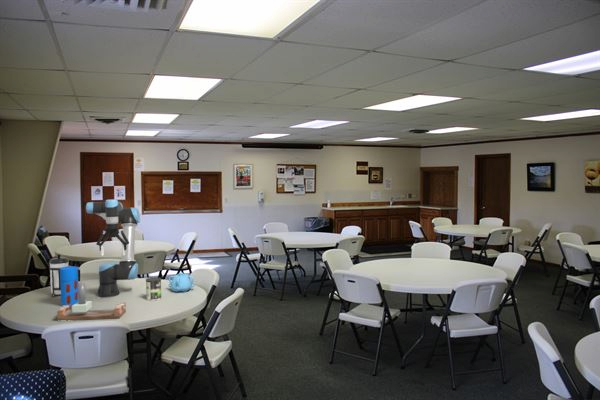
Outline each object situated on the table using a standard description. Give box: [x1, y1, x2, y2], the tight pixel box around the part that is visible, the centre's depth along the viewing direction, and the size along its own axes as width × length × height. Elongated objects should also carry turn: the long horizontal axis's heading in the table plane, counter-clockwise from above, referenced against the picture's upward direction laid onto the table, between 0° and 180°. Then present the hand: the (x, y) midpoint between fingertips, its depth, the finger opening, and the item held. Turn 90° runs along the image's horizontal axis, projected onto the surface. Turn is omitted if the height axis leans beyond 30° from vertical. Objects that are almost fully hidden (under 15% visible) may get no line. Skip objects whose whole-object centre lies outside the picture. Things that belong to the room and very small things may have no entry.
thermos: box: [60, 265, 79, 306], centre depth 309 cm, size 11×11×25 cm
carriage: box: [72, 283, 93, 313], centre depth 281 cm, size 10×8×16 cm
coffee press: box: [48, 253, 70, 296], centre depth 334 cm, size 17×16×30 cm
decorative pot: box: [167, 272, 195, 293], centre depth 344 cm, size 16×16×14 cm
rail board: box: [56, 302, 127, 322], centre depth 282 cm, size 14×38×7 cm, turn 96°
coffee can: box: [145, 277, 162, 302], centre depth 321 cm, size 10×10×14 cm
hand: (113, 255), depth 299 cm, fingers open, 13 cm apart
